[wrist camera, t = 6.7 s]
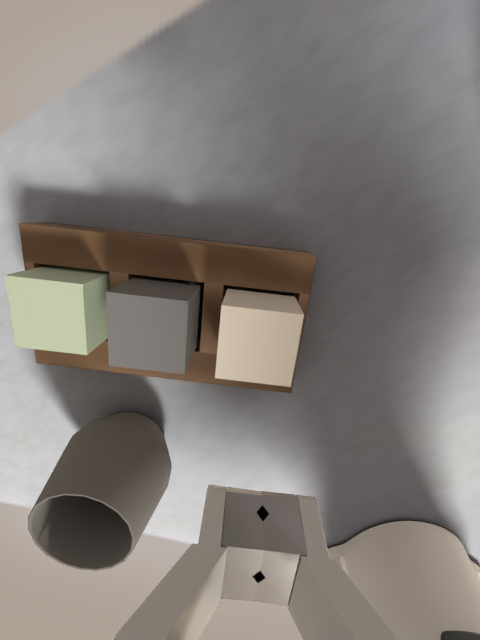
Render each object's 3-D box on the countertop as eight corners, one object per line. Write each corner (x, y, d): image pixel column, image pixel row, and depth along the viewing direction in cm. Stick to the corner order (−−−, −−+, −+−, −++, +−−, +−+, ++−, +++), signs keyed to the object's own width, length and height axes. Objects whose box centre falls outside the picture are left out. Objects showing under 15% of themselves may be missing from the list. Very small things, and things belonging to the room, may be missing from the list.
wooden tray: (287, 374, 28) (291, 392, 25) (58, 348, 28) (36, 363, 25) (309, 252, 24) (316, 257, 21) (46, 222, 24) (19, 223, 21)
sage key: (114, 332, 25) (87, 355, 21) (54, 325, 25) (15, 346, 21) (112, 272, 23) (82, 284, 19) (48, 264, 24) (4, 275, 19)
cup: (76, 399, 30) (-7, 486, 20) (169, 391, 29) (128, 477, 19) (102, 475, 33) (41, 582, 23) (187, 470, 32) (160, 577, 22)
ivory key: (284, 357, 24) (290, 387, 20) (221, 350, 24) (214, 378, 20) (294, 296, 22) (304, 314, 18) (227, 288, 22) (221, 305, 18)
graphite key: (196, 347, 24) (184, 374, 20) (133, 339, 24) (108, 365, 20) (200, 285, 22) (188, 301, 18) (133, 277, 22) (105, 291, 18)
